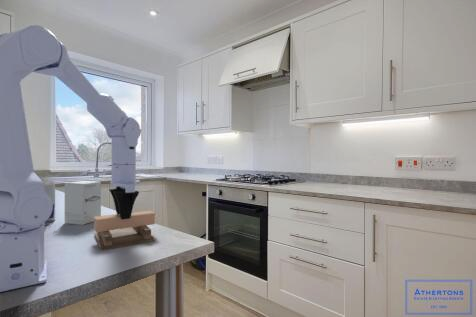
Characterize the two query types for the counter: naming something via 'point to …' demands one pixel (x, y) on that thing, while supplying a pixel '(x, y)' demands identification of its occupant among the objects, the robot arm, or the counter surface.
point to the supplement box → (82, 202)
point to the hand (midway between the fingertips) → (123, 216)
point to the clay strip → (123, 221)
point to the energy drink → (51, 193)
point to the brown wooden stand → (123, 237)
